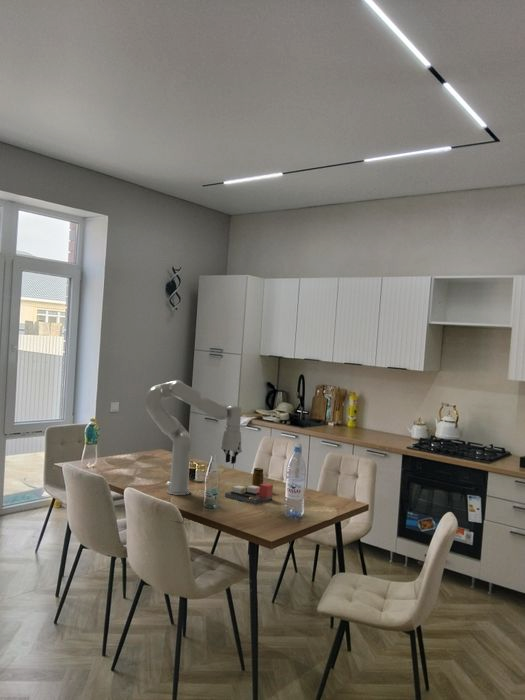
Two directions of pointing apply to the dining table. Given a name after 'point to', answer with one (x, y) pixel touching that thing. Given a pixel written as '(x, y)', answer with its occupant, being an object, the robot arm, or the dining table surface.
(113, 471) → the dining table surface
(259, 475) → the condiment
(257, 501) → the panel
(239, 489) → the breaker
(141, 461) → the dining table surface
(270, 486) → the cap
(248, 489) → the breaker
